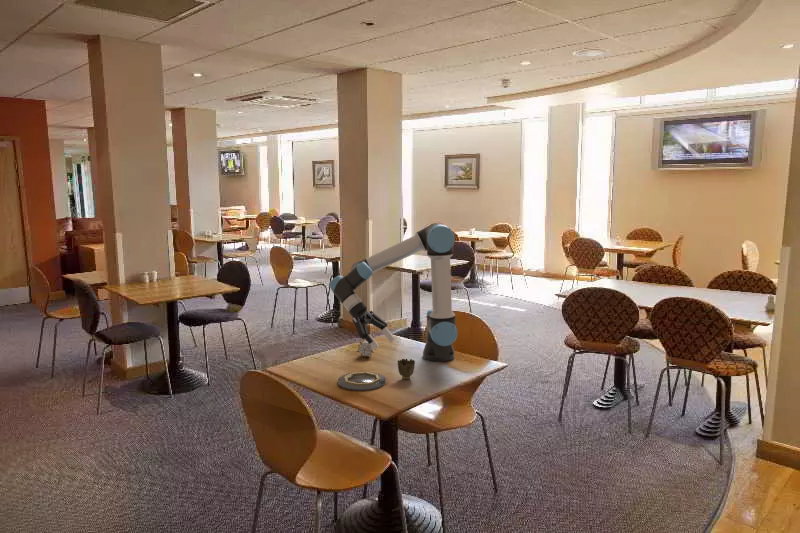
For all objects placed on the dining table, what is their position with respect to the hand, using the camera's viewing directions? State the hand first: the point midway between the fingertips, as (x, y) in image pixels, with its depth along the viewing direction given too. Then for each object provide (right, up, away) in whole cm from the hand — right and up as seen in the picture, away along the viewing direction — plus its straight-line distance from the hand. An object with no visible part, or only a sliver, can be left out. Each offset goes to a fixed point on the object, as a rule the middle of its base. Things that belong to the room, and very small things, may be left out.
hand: (385, 344), depth 252 cm
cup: (+9, -15, -2) cm, 17 cm away
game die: (-10, -10, +29) cm, 32 cm away
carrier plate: (-10, -15, -6) cm, 19 cm away
